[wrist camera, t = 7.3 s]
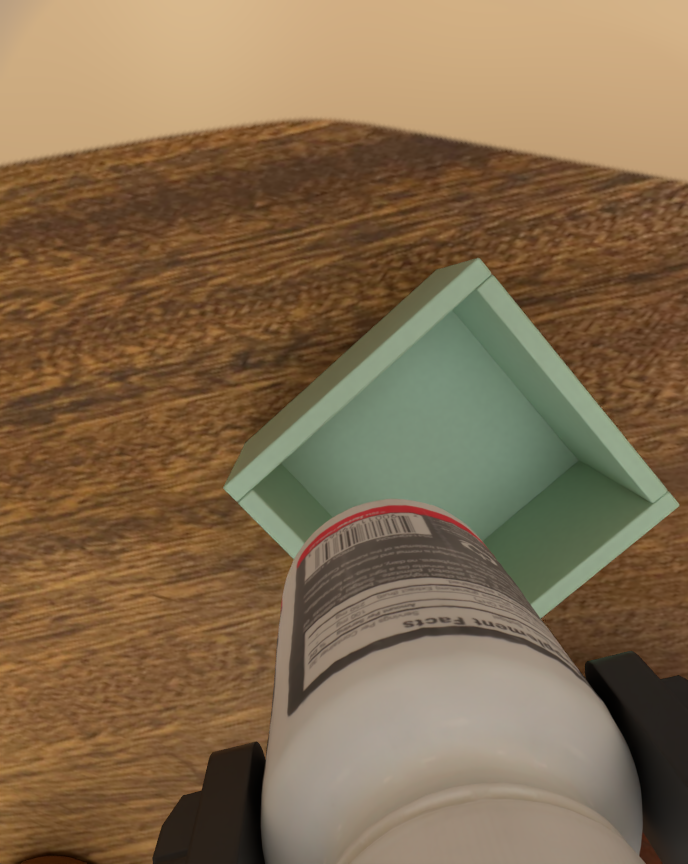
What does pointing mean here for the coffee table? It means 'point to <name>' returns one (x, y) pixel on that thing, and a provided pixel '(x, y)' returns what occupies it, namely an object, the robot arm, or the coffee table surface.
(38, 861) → the mug
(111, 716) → the coffee table surface
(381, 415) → the bin
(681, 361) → the coffee table surface
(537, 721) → the pill bottle
